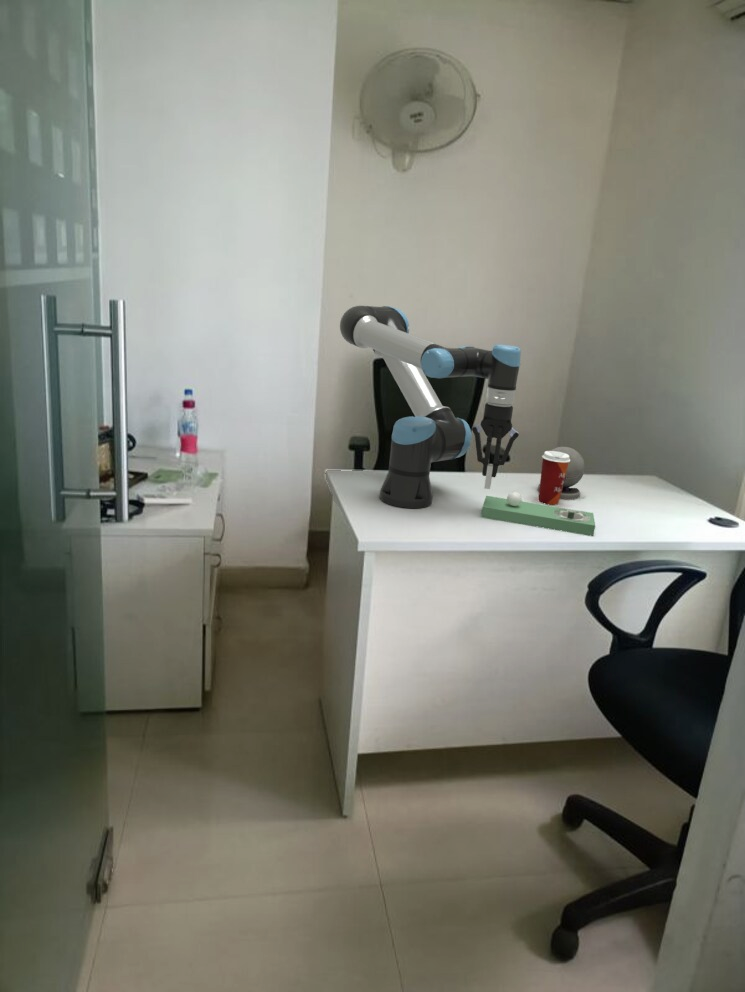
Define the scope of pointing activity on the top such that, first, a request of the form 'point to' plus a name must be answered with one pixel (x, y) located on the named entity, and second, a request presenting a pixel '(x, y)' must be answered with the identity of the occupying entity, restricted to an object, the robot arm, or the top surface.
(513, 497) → the ball
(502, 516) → the putting strip
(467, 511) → the top surface
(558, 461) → the coffee cup
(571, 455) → the webcam
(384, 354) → the robot arm
